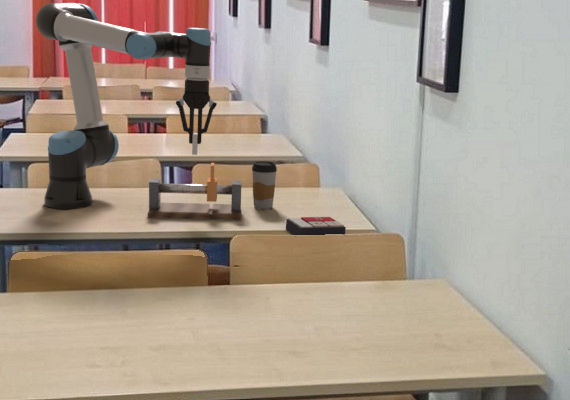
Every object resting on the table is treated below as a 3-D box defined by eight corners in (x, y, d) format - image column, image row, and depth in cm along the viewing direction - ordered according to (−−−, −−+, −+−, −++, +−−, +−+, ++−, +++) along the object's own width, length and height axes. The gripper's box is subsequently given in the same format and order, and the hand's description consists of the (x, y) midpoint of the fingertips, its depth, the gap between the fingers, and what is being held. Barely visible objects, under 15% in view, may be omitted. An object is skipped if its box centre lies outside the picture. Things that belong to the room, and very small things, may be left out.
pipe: (149, 209, 259) (149, 182, 257) (151, 205, 265) (151, 178, 263) (240, 212, 261) (241, 184, 259) (240, 207, 266) (241, 180, 264)
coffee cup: (279, 206, 276) (281, 162, 272) (268, 211, 269) (270, 166, 265) (257, 203, 279) (259, 160, 276) (246, 208, 272) (247, 163, 268)
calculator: (346, 224, 244) (301, 225, 238) (345, 238, 245) (299, 240, 239) (330, 215, 254) (286, 216, 248) (329, 229, 255) (284, 230, 249)
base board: (147, 217, 256) (147, 212, 255) (152, 206, 269) (152, 202, 269) (240, 220, 257) (240, 215, 257) (240, 208, 271) (240, 204, 270)
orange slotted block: (206, 201, 259) (207, 166, 256) (207, 196, 265) (208, 162, 263) (216, 201, 259) (217, 166, 257) (217, 196, 265) (217, 162, 263)
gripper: (175, 79, 249) (173, 155, 255) (217, 81, 250) (214, 157, 256) (177, 76, 256) (175, 150, 262) (218, 78, 257) (215, 152, 263)
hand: (194, 153), depth 259 cm, fingers closed
